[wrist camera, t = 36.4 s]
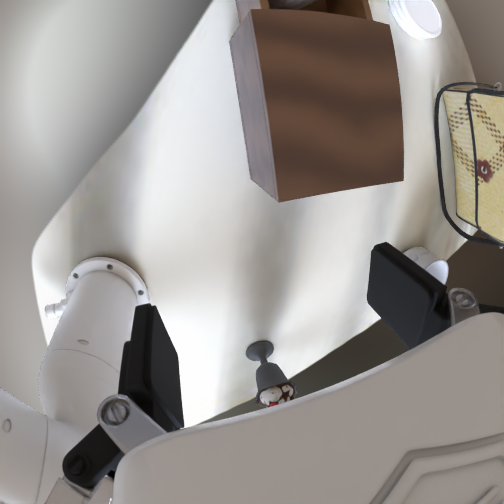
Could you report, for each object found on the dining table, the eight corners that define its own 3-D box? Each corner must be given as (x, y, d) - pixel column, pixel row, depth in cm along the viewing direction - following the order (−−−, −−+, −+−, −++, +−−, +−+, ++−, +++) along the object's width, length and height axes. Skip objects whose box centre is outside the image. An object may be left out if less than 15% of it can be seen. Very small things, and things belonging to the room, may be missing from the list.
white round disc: (376, -11, 23) (390, -17, 20) (413, -11, 23) (426, -15, 20) (403, 42, 28) (419, 39, 25) (436, 37, 28) (450, 36, 25)
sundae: (237, 344, 45) (260, 419, 32) (275, 332, 46) (308, 403, 32) (244, 367, 48) (266, 436, 35) (279, 356, 49) (309, 422, 36)
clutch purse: (420, 81, 32) (496, 86, 18) (442, 77, 32) (512, 83, 19) (441, 233, 46) (495, 268, 33) (460, 220, 46) (512, 250, 33)
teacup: (415, 228, 44) (446, 247, 37) (426, 265, 49) (452, 285, 42) (360, 279, 45) (387, 306, 38) (379, 311, 50) (401, 336, 43)
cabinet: (229, 41, 25) (250, 8, 16) (339, 41, 27) (389, 24, 18) (250, 179, 33) (278, 202, 24) (352, 163, 35) (403, 181, 26)
